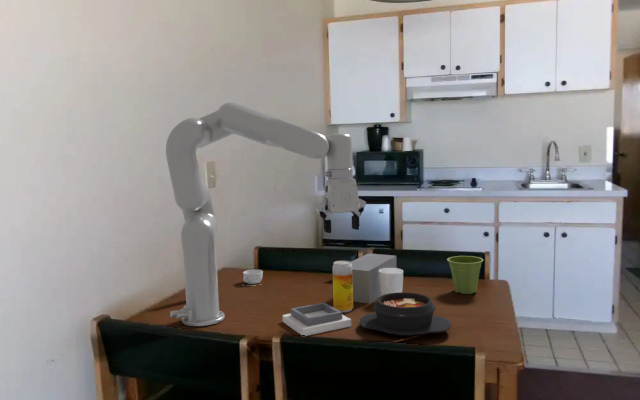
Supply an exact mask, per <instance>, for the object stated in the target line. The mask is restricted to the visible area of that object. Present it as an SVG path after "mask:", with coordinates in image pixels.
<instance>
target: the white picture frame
mask: <svg viewBox="0 0 640 400" xmlns="http://www.w3.org/2000/svg"><path fill="white" fill-rule="evenodd" d="M282 323H284V324H285V325H286V326H288V327H290V328H291V329H292V330H294V331H295V332H296V333H298V334H300V335H301V336H302V335H305V336H304V337H307V336H312V335H317V334H321V333H325V332H331V331H336V330H340V329H345V328H349V327H352V319H351V318H350V317H347V316H346V315H344V314H343V312H341V311H339V310H337V309H335V308H334V306H332V305H330V304H328V303H326V302H319V303H314V304H308V305H304V306H303V305H302V306H297V307H292V308H290V313H285V314H282Z"/></svg>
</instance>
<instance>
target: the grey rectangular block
mask: <svg viewBox="0 0 640 400" xmlns="http://www.w3.org/2000/svg"><path fill="white" fill-rule="evenodd" d="M350 262H351V264H352V276H353V303H362V304H371V303H372V302H374V301H376V300H377V298H378V297H380V296H381V294H380V284H379V270H380V269H383V268H397V255H393V254H392V255H390V254H377V253H366V254H364V255H362V256H360V257H358V258H356V259H354V260H351V261H350Z"/></svg>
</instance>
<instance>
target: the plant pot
mask: <svg viewBox="0 0 640 400" xmlns="http://www.w3.org/2000/svg"><path fill="white" fill-rule="evenodd" d="M446 260H447V262H448V264H449V265H448V266H449V268H450V271H451V272H450V273H451V277H452V284H453V289H454V292H455V293H460V294H462V295H472V294H474V293H477V291H478V285H479V277H480V272H481V271H480V270H481V268H482V264H483V261H484V259H483V258H482V257H479V256H473V255H458V256H457V255H456V256H450V257H448V258H447V259H446Z"/></svg>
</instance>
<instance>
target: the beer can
mask: <svg viewBox="0 0 640 400" xmlns="http://www.w3.org/2000/svg"><path fill="white" fill-rule="evenodd" d="M332 292H333V293H332V295H333V297H332V298H333V308H335V309H337V310H339V311H341V312H342V313H349V312H352V309H354V302H353V276H352V264H351V261H350V260H336V261H334V262H333V265H332Z"/></svg>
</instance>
